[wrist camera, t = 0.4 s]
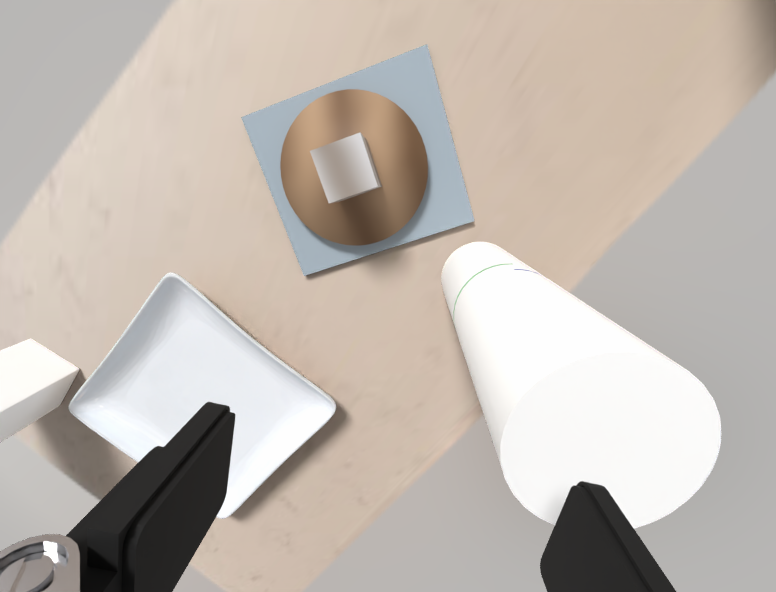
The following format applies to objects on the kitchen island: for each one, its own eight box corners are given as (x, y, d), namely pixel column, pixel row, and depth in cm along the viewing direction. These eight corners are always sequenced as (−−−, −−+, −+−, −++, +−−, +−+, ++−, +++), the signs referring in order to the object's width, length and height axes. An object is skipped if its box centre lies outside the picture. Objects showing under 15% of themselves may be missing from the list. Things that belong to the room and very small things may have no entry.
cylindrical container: (503, 320, 38) (668, 550, 14) (433, 305, 38) (476, 511, 14) (525, 250, 36) (761, 377, 12) (450, 234, 36) (536, 330, 12)
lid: (401, 68, 32) (399, 42, 26) (444, 218, 35) (452, 225, 29) (261, 123, 34) (230, 109, 28) (314, 261, 37) (296, 275, 31)
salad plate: (235, 502, 46) (222, 526, 43) (86, 395, 43) (60, 412, 40) (347, 391, 41) (342, 409, 38) (188, 260, 38) (167, 267, 35)
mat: (426, 46, 32) (427, 44, 31) (473, 220, 35) (474, 220, 35) (243, 118, 34) (241, 117, 33) (305, 274, 38) (304, 275, 37)
